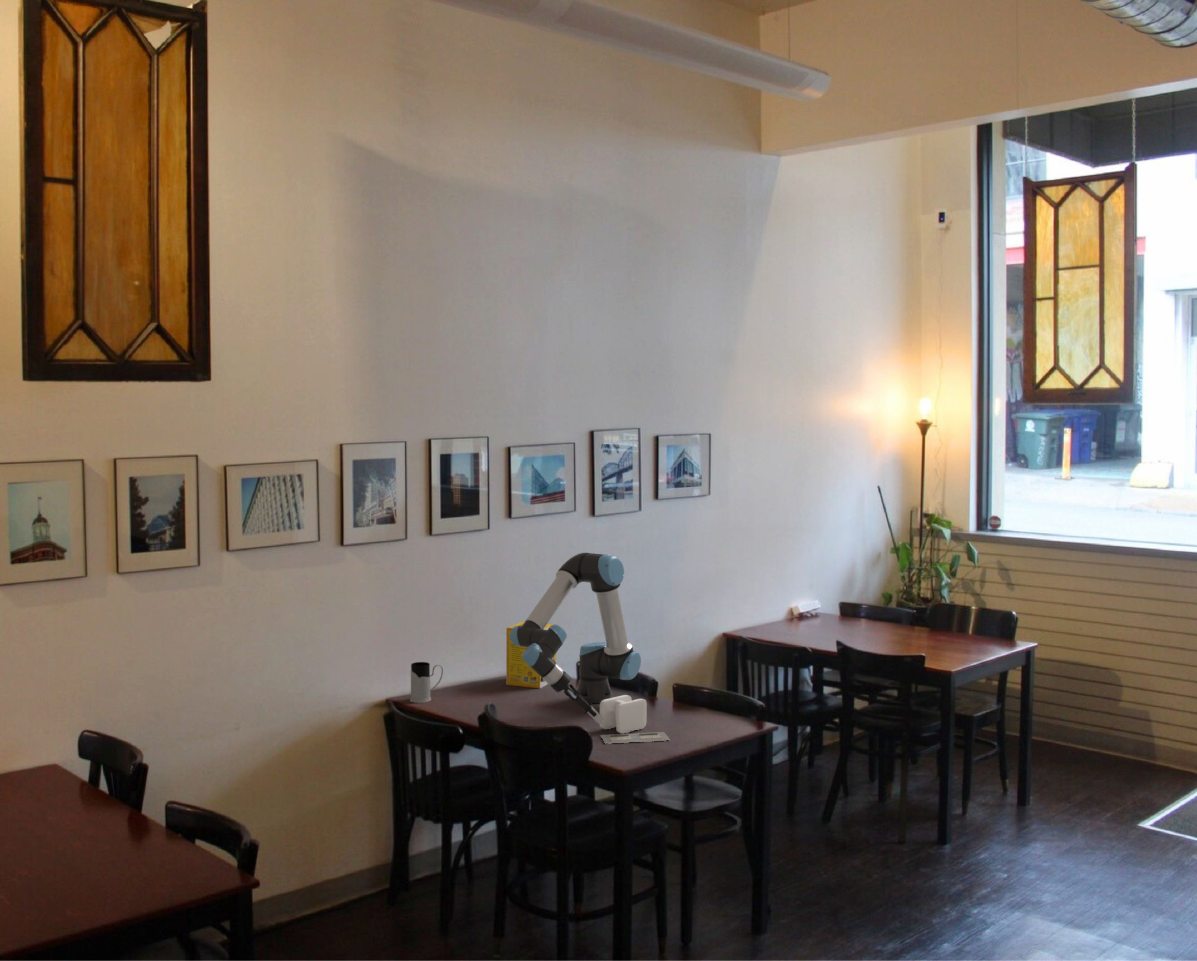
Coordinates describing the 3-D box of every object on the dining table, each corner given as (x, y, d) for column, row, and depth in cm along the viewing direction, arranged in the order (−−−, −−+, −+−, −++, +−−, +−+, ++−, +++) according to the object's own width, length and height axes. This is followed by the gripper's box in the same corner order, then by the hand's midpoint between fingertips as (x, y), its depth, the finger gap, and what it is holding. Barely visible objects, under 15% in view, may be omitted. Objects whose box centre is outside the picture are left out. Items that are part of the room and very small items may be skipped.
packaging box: (523, 676, 508) (523, 621, 506) (556, 680, 502) (556, 624, 500) (506, 684, 493) (506, 627, 491) (539, 688, 487) (540, 630, 485)
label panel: (600, 736, 416) (600, 733, 416) (663, 733, 421) (663, 730, 421) (605, 744, 407) (605, 741, 407) (670, 741, 411) (670, 738, 411)
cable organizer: (617, 736, 417) (617, 705, 416) (598, 730, 425) (598, 699, 424) (646, 729, 427) (647, 698, 426) (627, 723, 435) (627, 693, 434)
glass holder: (406, 699, 469) (406, 663, 468) (438, 694, 476) (438, 659, 475) (414, 703, 461) (414, 667, 460) (447, 699, 468) (446, 663, 467)
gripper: (547, 681, 425) (591, 723, 429) (552, 689, 412) (596, 733, 416) (561, 666, 426) (604, 708, 430) (566, 674, 413) (611, 718, 417)
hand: (600, 720), depth 423 cm, fingers closed
